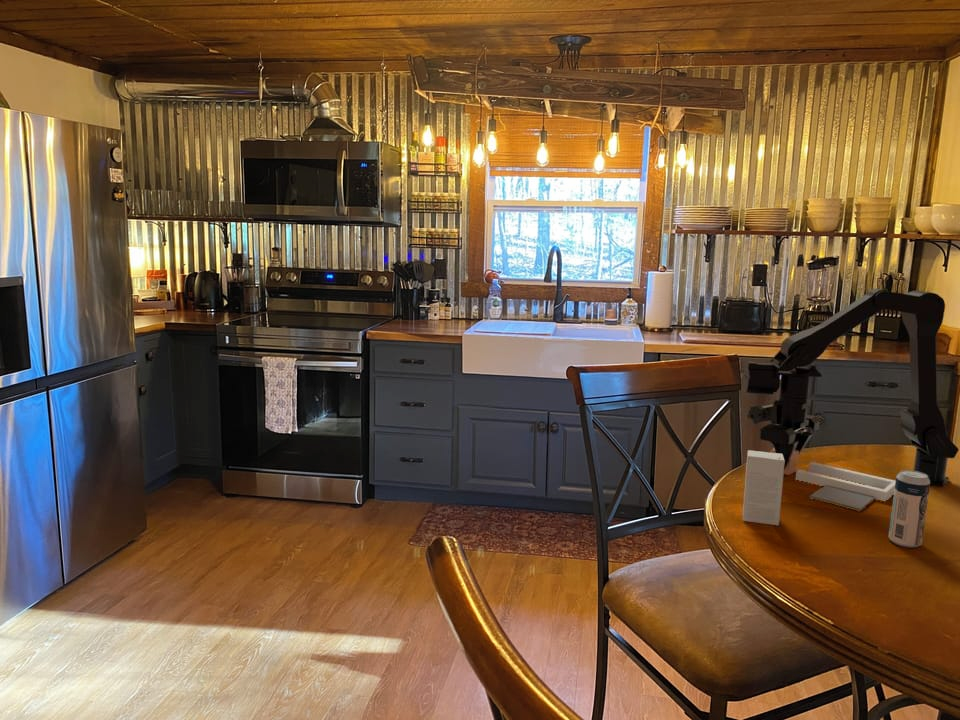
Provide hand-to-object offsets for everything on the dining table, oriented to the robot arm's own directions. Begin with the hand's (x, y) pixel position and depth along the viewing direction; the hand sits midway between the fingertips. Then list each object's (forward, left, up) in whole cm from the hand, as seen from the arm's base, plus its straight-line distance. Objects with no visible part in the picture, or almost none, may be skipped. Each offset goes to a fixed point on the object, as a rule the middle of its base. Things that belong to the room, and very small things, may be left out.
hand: (786, 466), depth 154 cm
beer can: (+23, +28, -1) cm, 36 cm away
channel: (0, +12, -1) cm, 12 cm away
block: (0, -1, -1) cm, 1 cm away
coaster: (+9, +14, -1) cm, 17 cm away
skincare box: (+31, +7, -1) cm, 32 cm away
